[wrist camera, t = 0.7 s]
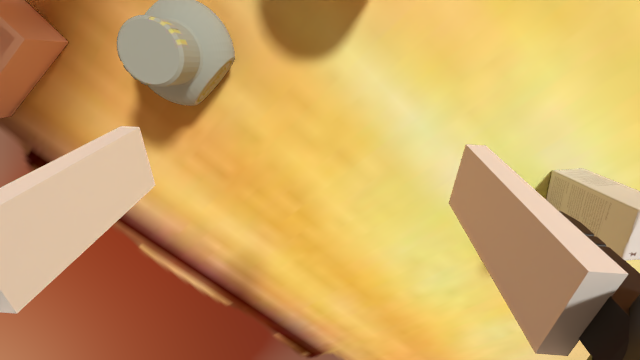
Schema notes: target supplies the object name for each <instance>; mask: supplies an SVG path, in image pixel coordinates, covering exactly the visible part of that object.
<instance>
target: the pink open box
mask: <svg viewBox="0 0 640 360" xmlns="http://www.w3.org/2000/svg"><path fill="white" fill-rule="evenodd" d="M68 43H69V42H68V41H67V40H66V39H65V38H64V37H63V36H62V35H61V34H60V33H59V32H58V31H57V30H55V29H54V28H53V27H52V26H51V25H50V24H49V23H48V22H47V21H46V20H45V19H44V18H43V17H42V16H41V15H40V14H39V13H38V12H37V11H36V10H35V9H34V8H32V7H31V6H30V5H29V4H28V3H27V2H26V1H25V0H0V118H5V117H10V116H12V115H13V113H14V112H15V111H16V109H17V108H18V107H19V106H20V104H21V103H22V102H23V100H24V99H25V98H26V97H27V95H28V94H29V93H30V91H31V90H32V89H33V88H34V86H35V85H36V84H37V82H38V81H39V80H40V79H41V77H42V76H43V75H44V73H45V72H46V71H47V70H48V68H49V67H50V66H51V64H52V63H53V62H54V61H55V59H56V58H57V57H58V55H59V54H60V53H61V52H62V50H63V49H64V48H65V46H66V45H67V44H68Z"/></svg>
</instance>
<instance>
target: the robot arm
mask: <svg viewBox="0 0 640 360" xmlns="http://www.w3.org/2000/svg"><path fill="white" fill-rule="evenodd" d="M154 186H155V182H154V178H153V175H152V171H151V167H150V163H149V160H148V156H147V152H146V149H145V145H144V141H143V138H142V134H141V130H140V127H130V126H120V127H118V128H116V129H115V130H113V131H111V132H109V133H107V134H105V135H103V136H101V137H99V138H97V139H95V140H93V141H91V142H89V143H87V144H85V145H83V146H81V147H79V148H77V149H75V150H73V151H71V152H69V153H67V154H65V155H64V156H62V157H60V158H58V159H56V160H54V161H52V162H50V163H48V164H46V165H44V166H42V167H40V168H38V169H36V170H34V171H32V172H30V173H28V174H26V175H24V176H22V177H20V178H18V179H16V180H15V181H13V182H11V183H9V184H7V185H5V186H3V187H1V188H0V312H4V313H18V312H19V311H20V310H21V309H22V308H23V307H24V306H25V305H27V304H28V303H29V302H30V301H31V300H32V299H33V298H34V297H35V296H36V295H37V294H39V293H40V292H41V291H42V290H43V289H44V288H45V287H46V286H47V285H48V284H49V283H50V282H52V280H54V279H55V278H56V277H57V276H58V275H59V274H60V273H61V272H62V271H63V270H64V269H66V268H67V267H68V265H70V264H71V263H72V262H73V261H74V260H75V259H76V258H77V257H79V256H80V254H82V252H84V251H85V250H86V249H87V248H88V247H89V246H90V245H91V244H93V243H94V241H96V240H97V239H98V238H99V237H100V236H101V235H102V234H103V233H104V232H106V231H107V230H108V229H109V228H110V227H111V226H112V225H113V224H114V223H115V222H116V221H117V220H119V219H120V218H121V217H122V216H123V215H124V214H125V213H126V212H127V211H128V210H129V209H130V208H132V207H133V206H134V205H135V204H136V203H137V202H138V201H139V200H140V199H141V198H142V197H143V196H144V195H146V194H147V193H148V192H149V191H150V190H151V189H152V188H153V187H154ZM449 204H450V206H451V208H452V210H453V211H454V213H455V215H456V216H457V218H458V220H459V222H460V223H461V225H462V227H463V229H464V230H465V232H466V234H467V236H468V237H469V239H470V241H471V243H472V244H473V246H474V248H475V249H476V251H477V253H478V255H479V256H480V258H481V260H482V262H483V263H484V265H485V267H486V269H487V270H488V272H489V274H490V276H491V277H492V279H493V281H494V282H495V284H496V286H497V288H498V289H499V291H500V293H501V295H502V296H503V298H504V300H505V302H506V303H507V305H508V307H509V309H510V310H511V312H512V314H513V315H514V317H515V319H516V321H517V322H518V324H519V326H520V328H521V329H522V331H523V333H524V335H525V336H526V338H527V340H528V342H529V343H530V345H531V347H532V348H533V350H534V352H535V353H537V354H550V355H563V356H568V355H569V353H570V352H571V351H572V349H573V348H574V347H575V345H576V344H577V343H578V341H579V340H580V341H581V342H582V344H583V345H584V346H585V348H586V349H587V351H588V352H589V353H590V356H589V357H588V359H587V360H640V273H639V272H637V271H636V270H635V269H634V268H633V267H632V266H631V265H629V264H628V263H627V262H626V261H625V260H624V259H622V258H621V257H620V256H619V255H618V254H617V253H615V252H614V251H613V250H612V249H611V248H610V247H606V244H605V243H604V242H603V241H602V240H600V239H599V238H598V237H596V236H594V233H592V232H591V231H590V230H589V229H588V228H587V227H585V226H584V225H583V224H582V223H581V222H579V221H578V220H576V219H574V218H572V217H571V216H569V215H567V214H565V213H564V212H562V211H558V210H557V209H556V208H555V207H553V206H552V205H551V204H550V203H549V202H548V201H547V200H546V199H545V198H543V197H542V196H541V195H540V194H539V193H538V192H537V191H536V190H535V189H533V188H532V187H531V186H530V185H529V184H528V183H527V182H526V181H525V180H523V179H522V178H521V177H520V176H519V175H518V174H517V173H516V172H515V171H513V170H512V169H511V168H510V167H509V166H508V165H507V164H506V163H505V162H503V161H502V160H501V159H500V158H499V157H498V156H497V155H496V154H495V153H493V152H492V151H491V150H490V149H489V148H488V147H487V146H486V145H467V144H466V146H465V149H464V153H463V156H462V159H461V163H460V166H459V170H458V173H457V177H456V180H455V183H454V187H453V190H452V194H451V197H450V201H449Z"/></svg>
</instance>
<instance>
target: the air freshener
mask: <svg viewBox="0 0 640 360" xmlns="http://www.w3.org/2000/svg"><path fill="white" fill-rule="evenodd" d="M117 50H118V55H119V58H120V61H122V62H123V64H124V68H125V69H126V71H128V72H129V73H130V74H131V76H132V77H133V78H134V79H136V80H138V81H140V82H141V83H142V84H145V85H148V86H149V88H150V89H152V90H153V91H154V92H155V93H156V94H158V95H160V96H161V97H163V98H164V99H166V100H169V101H171V102H173V103H177V104H181V105H189V106H191V105H197V104H199V103H200V102H201V101H203V100H204V99H205V98H206V97H207V96H208V95H209V94H210V93H211V91H212V90H213V89H214V88H215V87H216V86H217V85H218V83H219V82H220V81H221V80H222V78H223V77H224V76H225V74H226V73H227V72H228V70H229V69H230V67H231V65H232V64H233V62H234V60H235V53H234V47H233V43H232V40H231V38H230V35H229V33H228V31H227V29H226V27H225V25H224V24H223V23H222V21H221V20H220V19H219V17H218V16H217V15H216V14H215V13H214V12H212V11H211V10H210V9H209V8H208V7H206V6H205V5H203V4H202V3H200V2H198V1H196V0H158V1H157V2H156V3H155V4H154V5H153V6H152V7H151V8H150V9H149V10H148V11H147V12H146V13H145V15H138V16H135V17H132V18H130V19H128V20H127V21H126V22H125V23H124V24H123V25H122V27H121V29H120V31H119V33H118V37H117Z"/></svg>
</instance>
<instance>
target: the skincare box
mask: <svg viewBox="0 0 640 360" xmlns="http://www.w3.org/2000/svg"><path fill="white" fill-rule="evenodd" d="M546 200H547V201H548V202H549V203H550V204H551V205H552V206H553V207H555V208H556V209H557V210H558V211H562V212H564V213H565V214H567V215H569V216H571V217H572V218H574V219H576V220H578V221H579V222H581V223H582V224H583V225H584V226H585V227H587V228H588V229H589V230H590V231H591V232H592V233H594V236H596V237H598V238H599V239H600V240H602V241H603V242H604V243H605V244H606V247H610V248H611V249H612V250H613V251H614V252H615V253H617V254H618V255H619V256H620V257H621V258H622V259H624V260H638V259H640V191H638V190H635V189H633V188H631V187H628V186H626V185H623V184H621V183H618V182H616V181H613V180H611V179H608V178H606V177H603V176H601V175H598V174H596V173H593V172H591V171H588V170H586V169H583V168H579V169H567V170H553V171H552V174H551V179H550V183H549V188H548V193H547V198H546Z"/></svg>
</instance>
